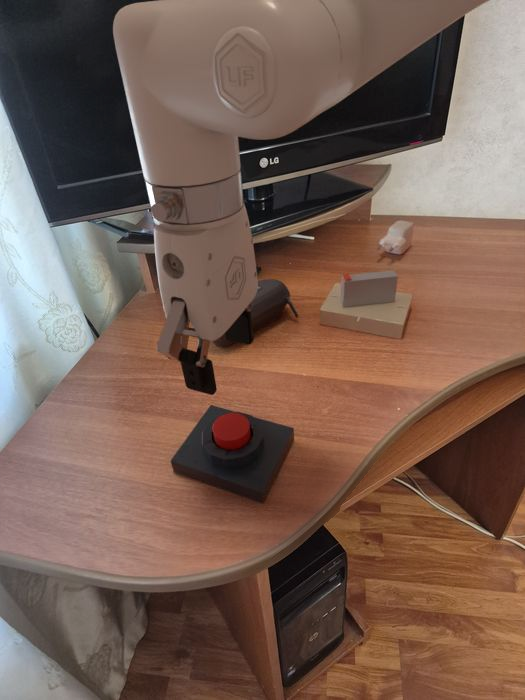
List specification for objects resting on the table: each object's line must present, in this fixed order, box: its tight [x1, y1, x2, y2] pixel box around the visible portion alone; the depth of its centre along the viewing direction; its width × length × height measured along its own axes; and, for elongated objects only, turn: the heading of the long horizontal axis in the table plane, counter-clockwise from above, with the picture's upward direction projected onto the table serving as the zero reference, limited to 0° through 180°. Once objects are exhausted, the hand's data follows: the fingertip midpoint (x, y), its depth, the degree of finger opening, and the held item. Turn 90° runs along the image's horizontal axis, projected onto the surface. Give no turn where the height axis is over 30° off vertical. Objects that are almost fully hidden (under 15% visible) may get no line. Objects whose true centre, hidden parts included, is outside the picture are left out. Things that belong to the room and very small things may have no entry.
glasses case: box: [211, 278, 299, 348], centre depth 75 cm, size 18×10×8 cm, turn 135°
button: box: [213, 413, 251, 450], centre depth 52 cm, size 4×4×2 cm
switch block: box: [170, 404, 295, 504], centre depth 54 cm, size 12×10×4 cm
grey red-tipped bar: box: [340, 269, 399, 307], centre depth 74 cm, size 9×2×5 cm, turn 96°
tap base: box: [318, 282, 414, 340], centre depth 77 cm, size 14×13×3 cm
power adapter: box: [376, 219, 414, 255], centre depth 94 cm, size 11×5×6 cm, turn 143°
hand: (221, 363), depth 46 cm, fingers open, 7 cm apart
